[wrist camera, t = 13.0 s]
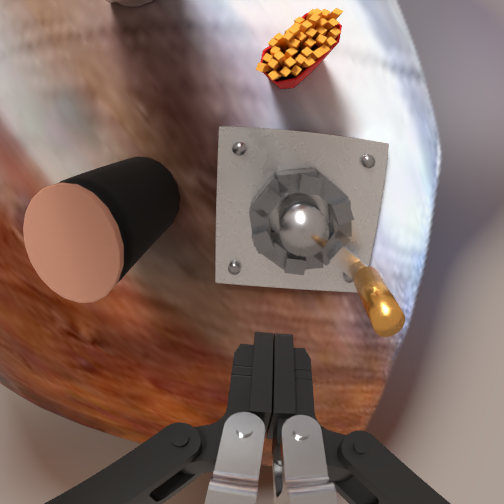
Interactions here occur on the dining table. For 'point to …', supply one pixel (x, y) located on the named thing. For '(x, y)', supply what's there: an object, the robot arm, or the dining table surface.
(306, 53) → the french fries
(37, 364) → the dining table surface
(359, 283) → the spiky gray ring
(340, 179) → the flange plate
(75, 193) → the coffee jar
